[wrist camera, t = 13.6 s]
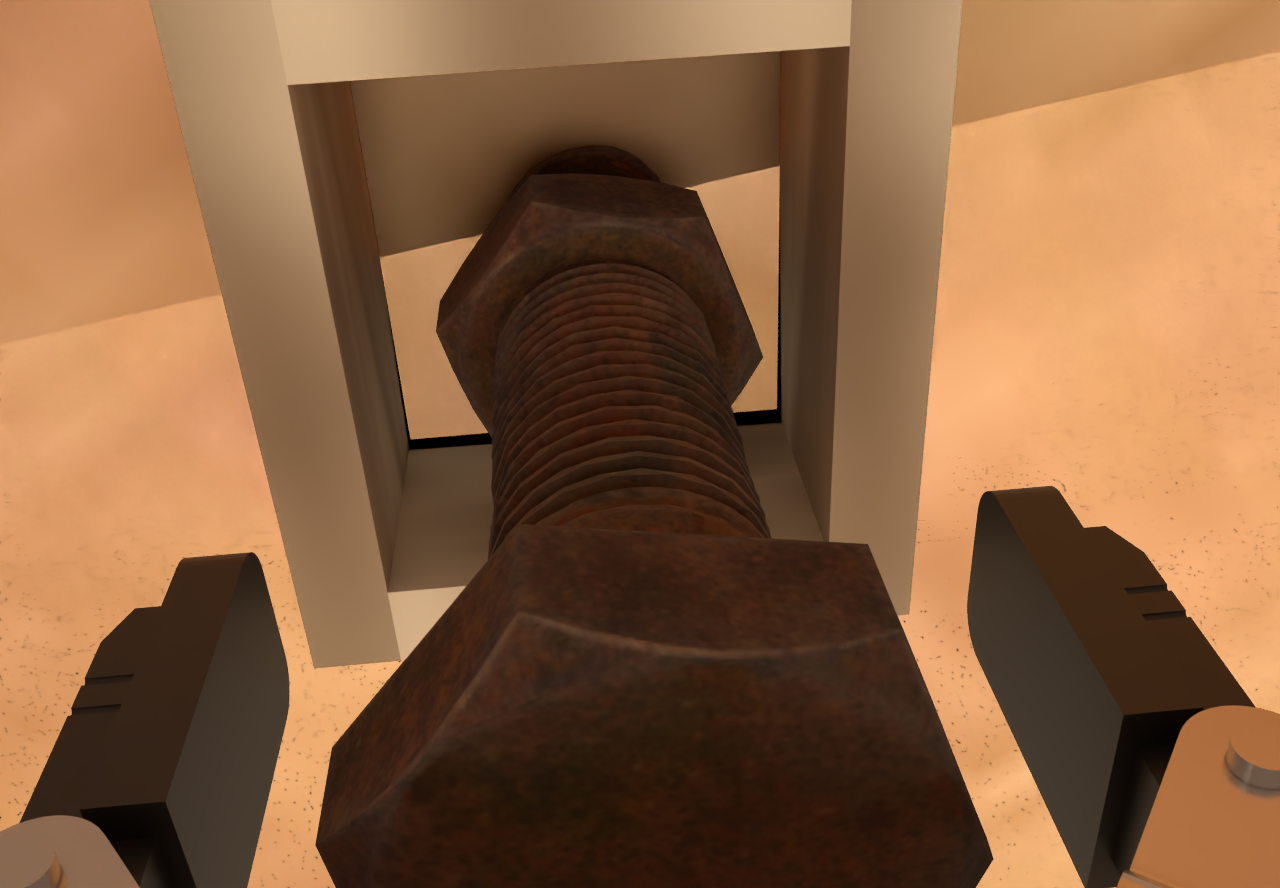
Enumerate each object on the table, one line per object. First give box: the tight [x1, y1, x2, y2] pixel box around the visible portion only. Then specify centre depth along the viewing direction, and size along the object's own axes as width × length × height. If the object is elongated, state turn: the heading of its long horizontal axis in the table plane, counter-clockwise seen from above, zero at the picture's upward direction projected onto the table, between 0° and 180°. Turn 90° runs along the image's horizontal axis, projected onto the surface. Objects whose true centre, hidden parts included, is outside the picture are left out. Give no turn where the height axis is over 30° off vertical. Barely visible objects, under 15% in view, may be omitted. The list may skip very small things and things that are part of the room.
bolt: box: [316, 146, 993, 888], centre depth 16 cm, size 6×5×15 cm
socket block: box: [149, 0, 963, 668], centre depth 21 cm, size 10×12×5 cm
